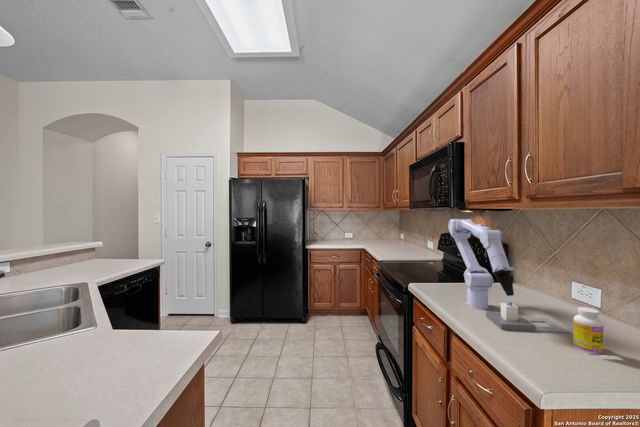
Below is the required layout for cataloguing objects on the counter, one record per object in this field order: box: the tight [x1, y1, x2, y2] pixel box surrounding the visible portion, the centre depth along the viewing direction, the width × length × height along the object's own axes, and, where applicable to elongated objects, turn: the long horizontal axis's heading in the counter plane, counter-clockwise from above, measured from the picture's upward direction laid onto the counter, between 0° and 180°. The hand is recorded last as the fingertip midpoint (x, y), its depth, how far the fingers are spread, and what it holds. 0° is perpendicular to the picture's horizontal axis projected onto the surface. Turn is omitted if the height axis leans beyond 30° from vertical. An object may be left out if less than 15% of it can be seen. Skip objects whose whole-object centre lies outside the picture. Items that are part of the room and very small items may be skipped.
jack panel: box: [485, 310, 571, 334], centre depth 102 cm, size 12×22×3 cm, turn 82°
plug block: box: [500, 300, 519, 321], centre depth 103 cm, size 4×4×8 cm
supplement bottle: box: [572, 306, 604, 356], centre depth 85 cm, size 7×7×13 cm
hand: (509, 293), depth 101 cm, fingers open, 7 cm apart
